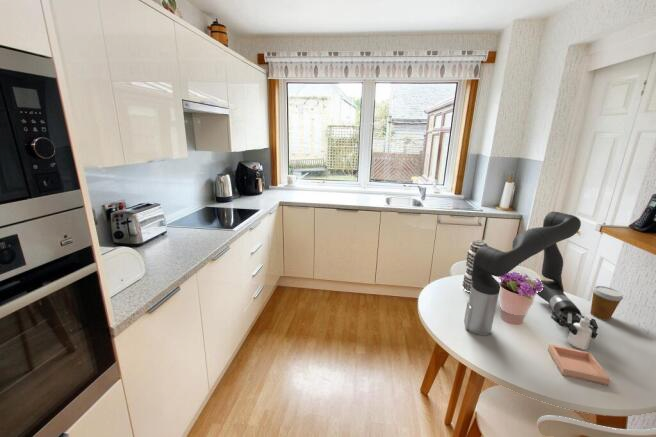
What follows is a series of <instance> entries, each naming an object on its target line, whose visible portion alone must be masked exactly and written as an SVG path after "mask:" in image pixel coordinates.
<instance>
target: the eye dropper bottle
mask: <svg viewBox="0 0 656 437" xmlns="http://www.w3.org/2000/svg"><path fill="white" fill-rule="evenodd" d="M584 317H585V318H581V320H580V323H574V324H573V325H574V326H575V327H576V329H577V330H578V331H577V334H576V335H573V333H571V332H570V331H569V334H568V337H567V340H566V341H567V343H568V344H570V345H571V346H573V347H574V348H577V349H578V350H581V351H587V349H588V347H589V345H590V343H591V340H592V337H591V336H592V333H593V331H592V330H591V329H590V328H589V327H588V326H589V323H590V321H589V320H590V319H589V317H588V316H587V315H586V316H584Z"/></svg>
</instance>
